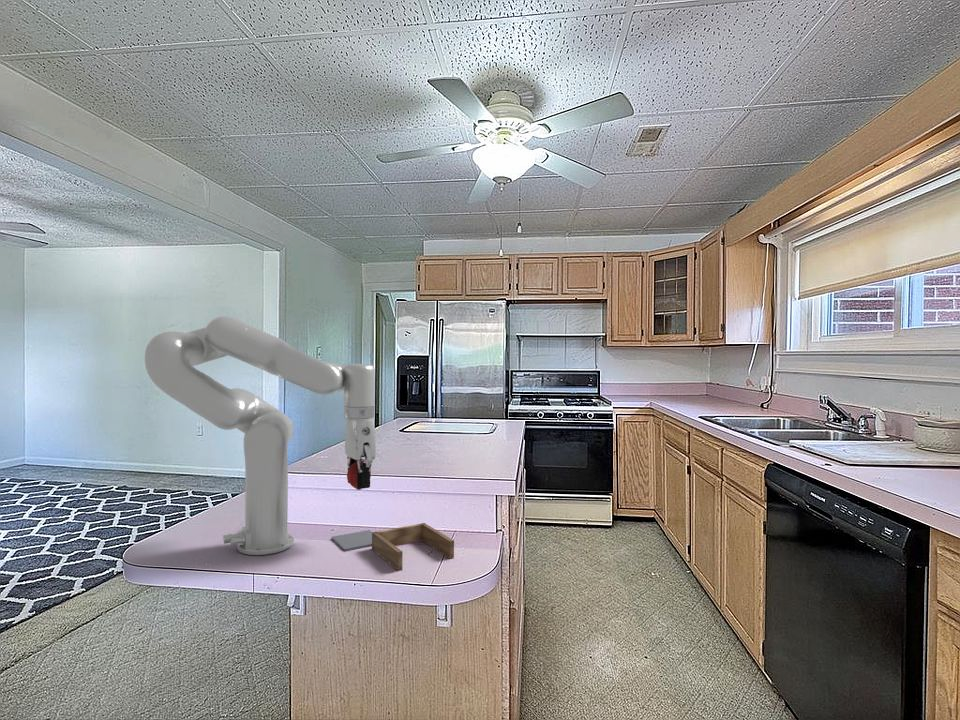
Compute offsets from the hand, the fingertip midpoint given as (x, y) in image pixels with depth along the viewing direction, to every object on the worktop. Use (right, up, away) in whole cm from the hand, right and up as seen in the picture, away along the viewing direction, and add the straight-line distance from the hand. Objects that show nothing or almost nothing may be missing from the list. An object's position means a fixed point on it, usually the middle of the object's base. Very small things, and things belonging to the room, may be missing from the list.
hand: (358, 484), depth 131 cm
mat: (0, -14, 0) cm, 14 cm away
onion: (0, -2, 0) cm, 2 cm away
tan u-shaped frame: (+15, -14, -8) cm, 22 cm away
